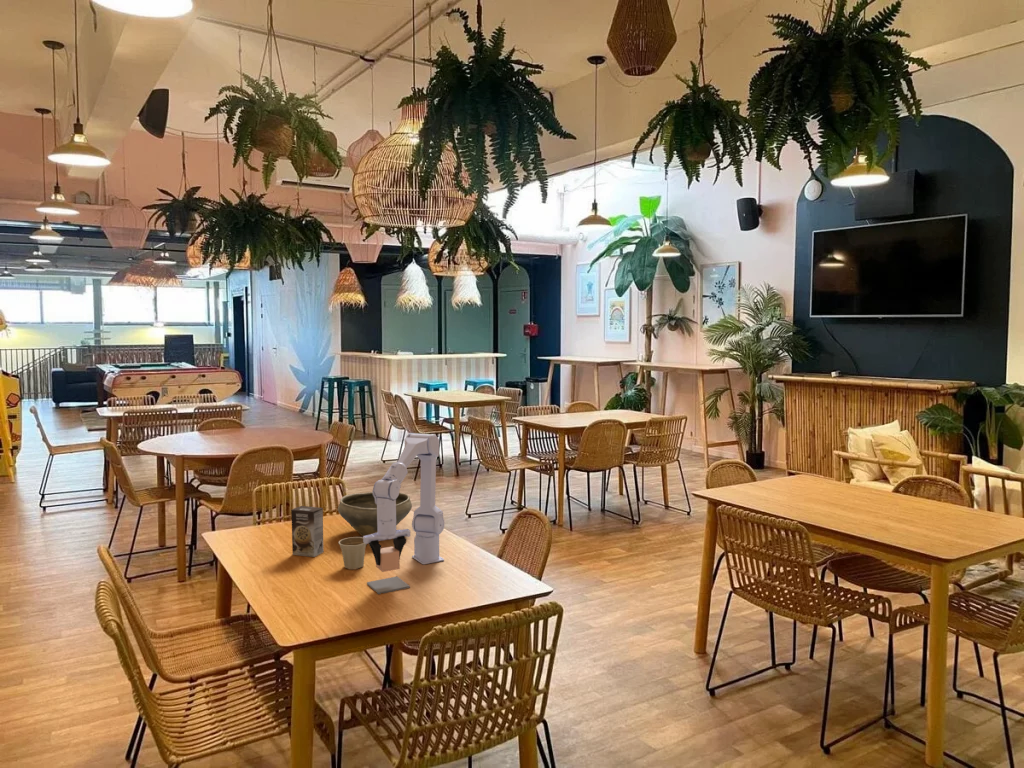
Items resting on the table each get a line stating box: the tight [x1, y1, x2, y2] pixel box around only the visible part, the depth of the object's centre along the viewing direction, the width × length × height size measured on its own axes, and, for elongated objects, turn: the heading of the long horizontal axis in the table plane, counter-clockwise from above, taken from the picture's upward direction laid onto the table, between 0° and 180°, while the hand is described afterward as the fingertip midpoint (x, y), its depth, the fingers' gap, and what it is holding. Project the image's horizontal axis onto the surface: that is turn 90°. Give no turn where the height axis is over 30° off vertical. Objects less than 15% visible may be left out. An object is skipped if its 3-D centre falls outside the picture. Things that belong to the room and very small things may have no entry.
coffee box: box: [290, 505, 324, 558], centre depth 256 cm, size 9×6×16 cm
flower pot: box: [338, 536, 367, 570], centre depth 242 cm, size 9×9×9 cm
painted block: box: [375, 545, 401, 573], centre depth 223 cm, size 6×6×6 cm
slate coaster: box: [366, 576, 410, 595], centre depth 224 cm, size 10×10×1 cm
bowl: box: [337, 491, 413, 537], centre depth 280 cm, size 28×28×14 cm
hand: (387, 562), depth 223 cm, fingers closed on painted block, 5 cm apart
